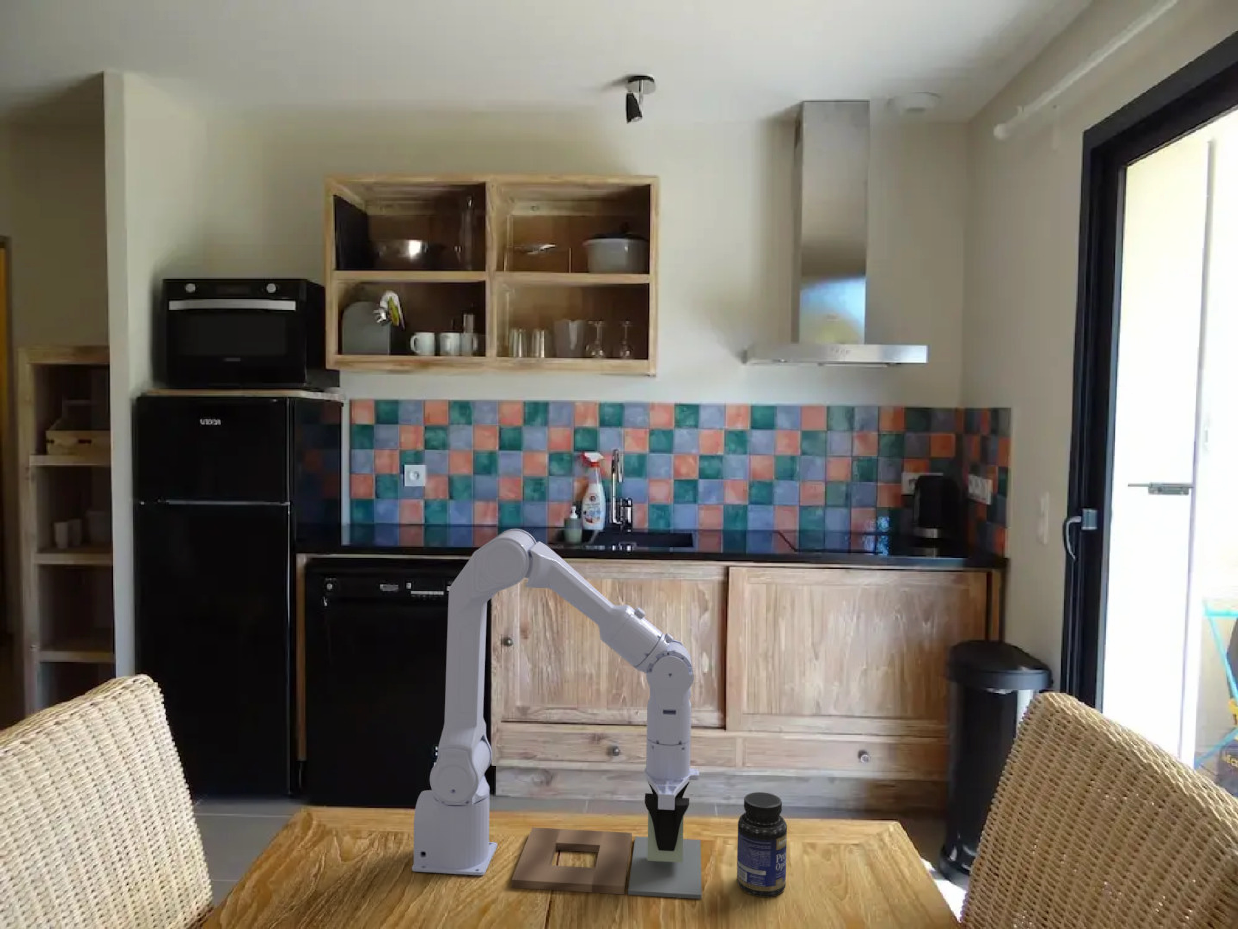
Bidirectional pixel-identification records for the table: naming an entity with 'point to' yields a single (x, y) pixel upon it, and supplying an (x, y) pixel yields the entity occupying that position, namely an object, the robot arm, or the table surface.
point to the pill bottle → (762, 846)
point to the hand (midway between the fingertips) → (666, 840)
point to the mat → (666, 872)
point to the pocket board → (543, 875)
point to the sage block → (664, 855)
